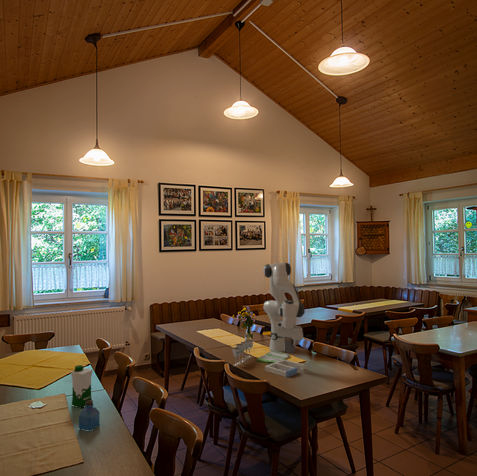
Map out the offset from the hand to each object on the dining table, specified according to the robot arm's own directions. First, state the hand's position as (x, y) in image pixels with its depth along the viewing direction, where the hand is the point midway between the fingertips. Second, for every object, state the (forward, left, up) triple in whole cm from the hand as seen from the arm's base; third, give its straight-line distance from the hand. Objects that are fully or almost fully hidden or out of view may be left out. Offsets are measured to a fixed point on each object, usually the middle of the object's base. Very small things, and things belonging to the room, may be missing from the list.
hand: (289, 344), depth 255 cm
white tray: (+5, 0, -16) cm, 17 cm away
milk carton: (+124, -43, -16) cm, 132 cm away
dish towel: (-9, -22, -17) cm, 29 cm away
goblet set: (+9, -36, -16) cm, 40 cm away
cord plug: (0, 0, -5) cm, 5 cm away
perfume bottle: (+132, -15, -16) cm, 133 cm away
